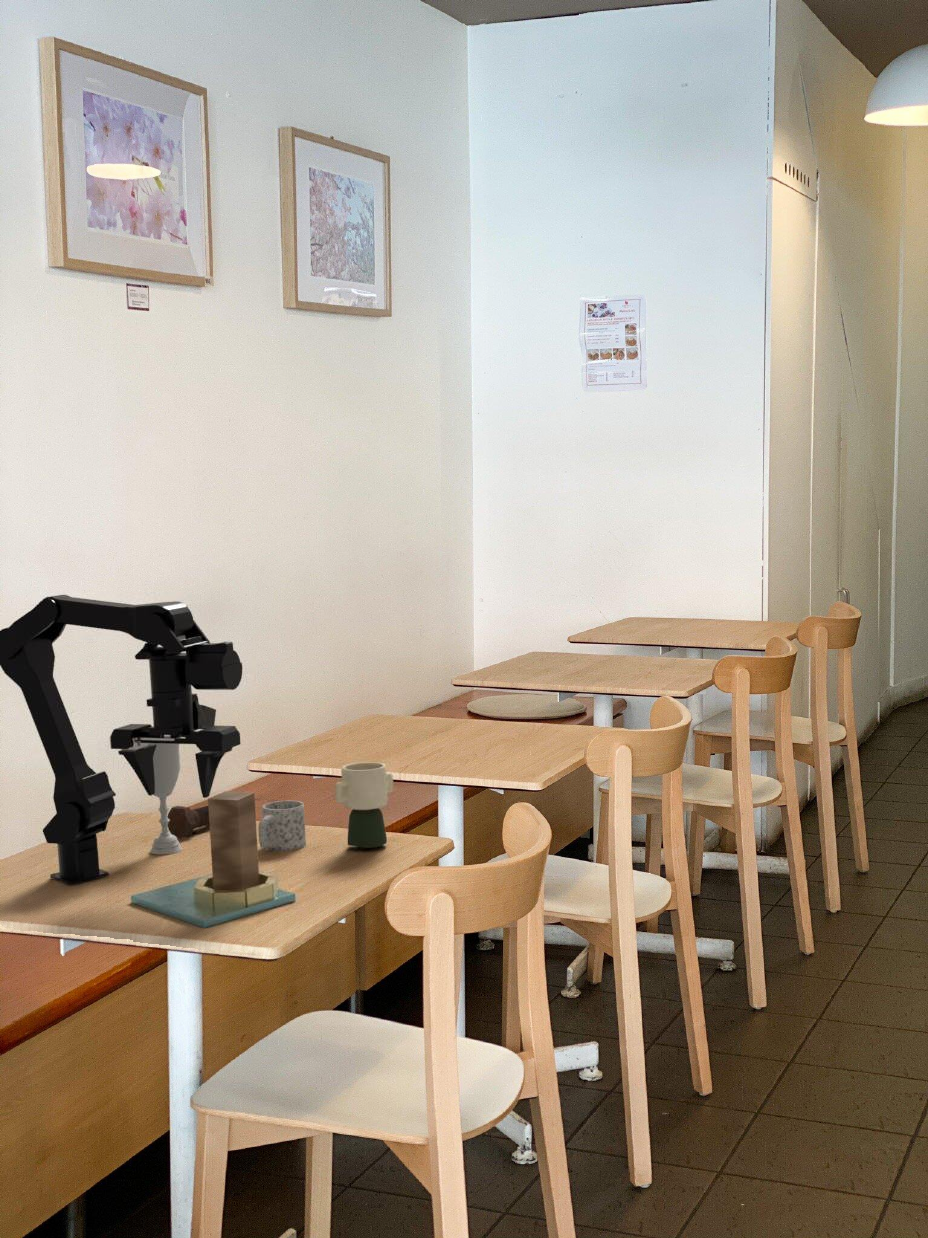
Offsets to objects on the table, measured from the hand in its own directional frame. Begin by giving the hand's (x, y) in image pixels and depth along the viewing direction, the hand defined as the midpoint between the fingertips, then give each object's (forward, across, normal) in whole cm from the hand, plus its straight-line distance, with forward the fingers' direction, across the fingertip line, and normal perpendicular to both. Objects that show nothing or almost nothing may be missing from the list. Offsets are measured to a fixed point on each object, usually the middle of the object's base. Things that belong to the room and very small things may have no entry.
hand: (178, 796), depth 201 cm
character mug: (+13, -18, -25) cm, 33 cm away
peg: (+12, -12, +6) cm, 18 cm away
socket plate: (+13, -9, +7) cm, 17 cm away
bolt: (+14, +15, -32) cm, 37 cm away
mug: (+13, -4, -21) cm, 25 cm away
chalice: (+13, +14, -16) cm, 25 cm away
